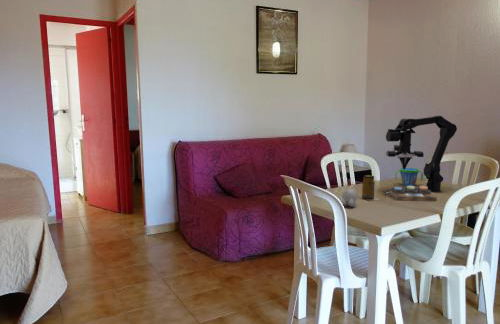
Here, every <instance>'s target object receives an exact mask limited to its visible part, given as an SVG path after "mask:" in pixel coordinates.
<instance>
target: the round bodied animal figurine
mask: <svg viewBox="0 0 500 324" xmlns="http://www.w3.org/2000/svg"><path fill="white" fill-rule="evenodd" d="M341 196H342V199H341V201H340V203H341V202H342V203H343V204H342V205H343V206H344V207H348V206H349V207H352V208H355V206H356V204H357V203H356V202H357V200H358V198H359V197H358V193H357V191H356V190H355V189H353V188H346V189H345V190H344V191H342V194H341Z"/></svg>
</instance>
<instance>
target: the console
mask: <svg viewBox="0 0 500 324" xmlns="http://www.w3.org/2000/svg"><path fill="white" fill-rule="evenodd" d="M401 188H402V190H395V189H394V187H391V189H390V190H389V193H388V194H390V197H391V198H393V200H394V201H411V202H412V201H414V202H437V200H438V197H437V196H435V195H434V194H432V192H431V190H429V189H428V190H419V187H415V190H407V187H404V188H403V187H401Z"/></svg>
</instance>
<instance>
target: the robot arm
mask: <svg viewBox="0 0 500 324" xmlns="http://www.w3.org/2000/svg"><path fill="white" fill-rule="evenodd" d="M398 122H399V123H398V125H397V126H396V127H395V129H391V128H387V132H386V134H385V140H386V141H387V142H388V143H389V142H399V144H394V145H393V150H387V151H386V153H385V154H386V157H388V158H389V157H391V158H393V157H394V158H395V157H396V158H398V159H399V161H400V164H401V167H402V168H403V169H405V168H407V166H408V164H409V162H410V161H411V160H412V159H413V157H415V156H416V157H418V158H424V155H425V154H424V152H423V151H422V150H413V151H411V146H412V134H416V131H415V130H414V129H415V128H416V127H420V126H424V125H432V124H435V125H436V127H438V128H439V139H438V142H437V144H436V148H435V149H434V152H433V155H432V158H431V159H430V162H428V163H425V164H424V168H423V169H422V171H423V172H422V174H423V176H424V177H425V178H426V180H427V182H426V183H425V184H426V185H425V186H427V187H428V189H429V190H431V193H442V191H441V187H442V186H441V185H442V182H443V181H444V179H445V178H444V177H443V176H442V175H441V162H442V160H443V157H444V155H445V152H446V149H447V147H448V145H449V142H450V140H452V138H453V137H454V136H455V134H456V133H457V130H458V127H457V125H456V124H455V123H452V122H451V121H449V120H447V119H445V117H444V116H442V115H434V116H426V117H420V118H401V119H400V120H399V121H398Z"/></svg>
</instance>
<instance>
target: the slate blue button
mask: <svg viewBox="0 0 500 324" xmlns="http://www.w3.org/2000/svg"><path fill="white" fill-rule="evenodd" d="M393 188H394V189H395V190H402V188H403V187H400V186H395V187H393Z"/></svg>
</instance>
